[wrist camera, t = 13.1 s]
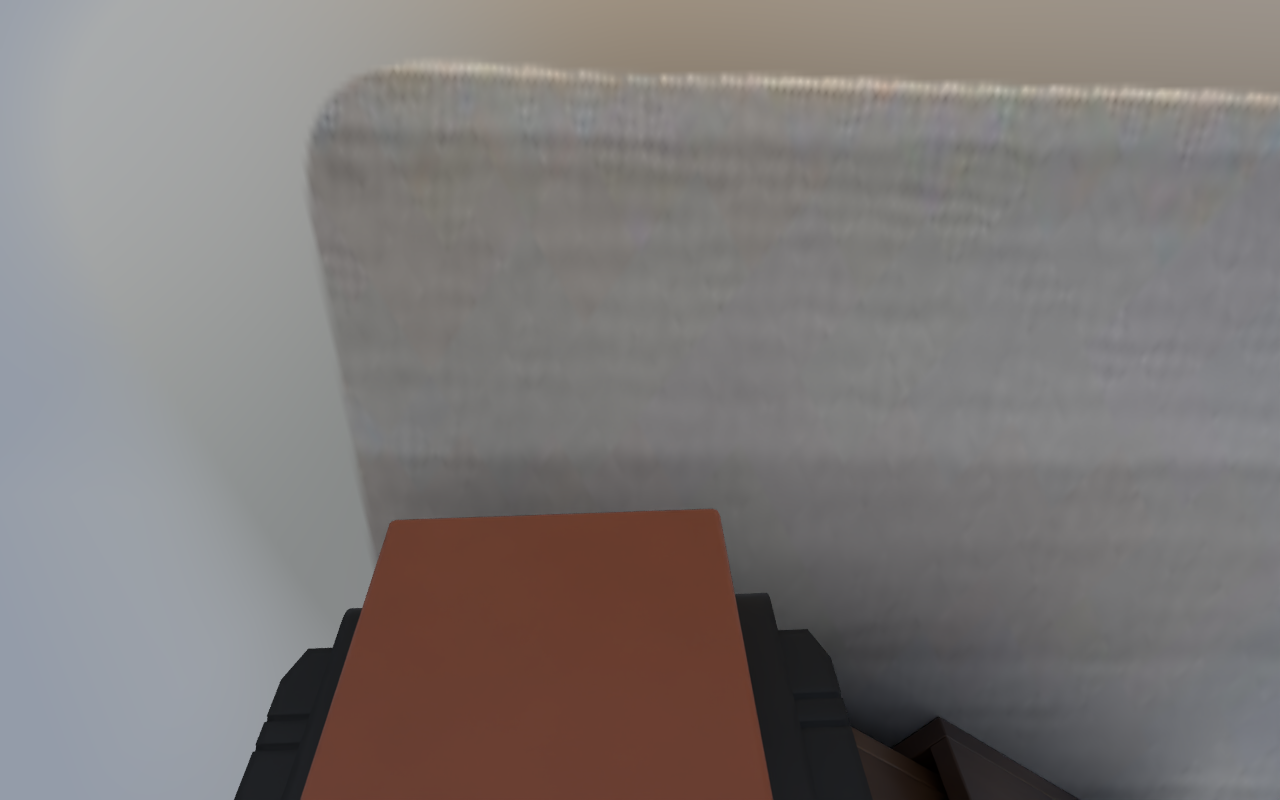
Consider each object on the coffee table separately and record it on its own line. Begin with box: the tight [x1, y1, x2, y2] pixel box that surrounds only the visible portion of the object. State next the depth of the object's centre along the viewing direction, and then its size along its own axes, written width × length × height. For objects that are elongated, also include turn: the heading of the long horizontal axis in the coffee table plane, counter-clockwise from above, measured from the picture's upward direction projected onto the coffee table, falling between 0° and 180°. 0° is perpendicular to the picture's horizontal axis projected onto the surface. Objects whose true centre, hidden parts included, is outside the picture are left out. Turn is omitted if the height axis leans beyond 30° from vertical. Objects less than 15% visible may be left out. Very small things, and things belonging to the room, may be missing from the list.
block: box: [300, 509, 773, 800], centre depth 10 cm, size 4×4×4 cm
